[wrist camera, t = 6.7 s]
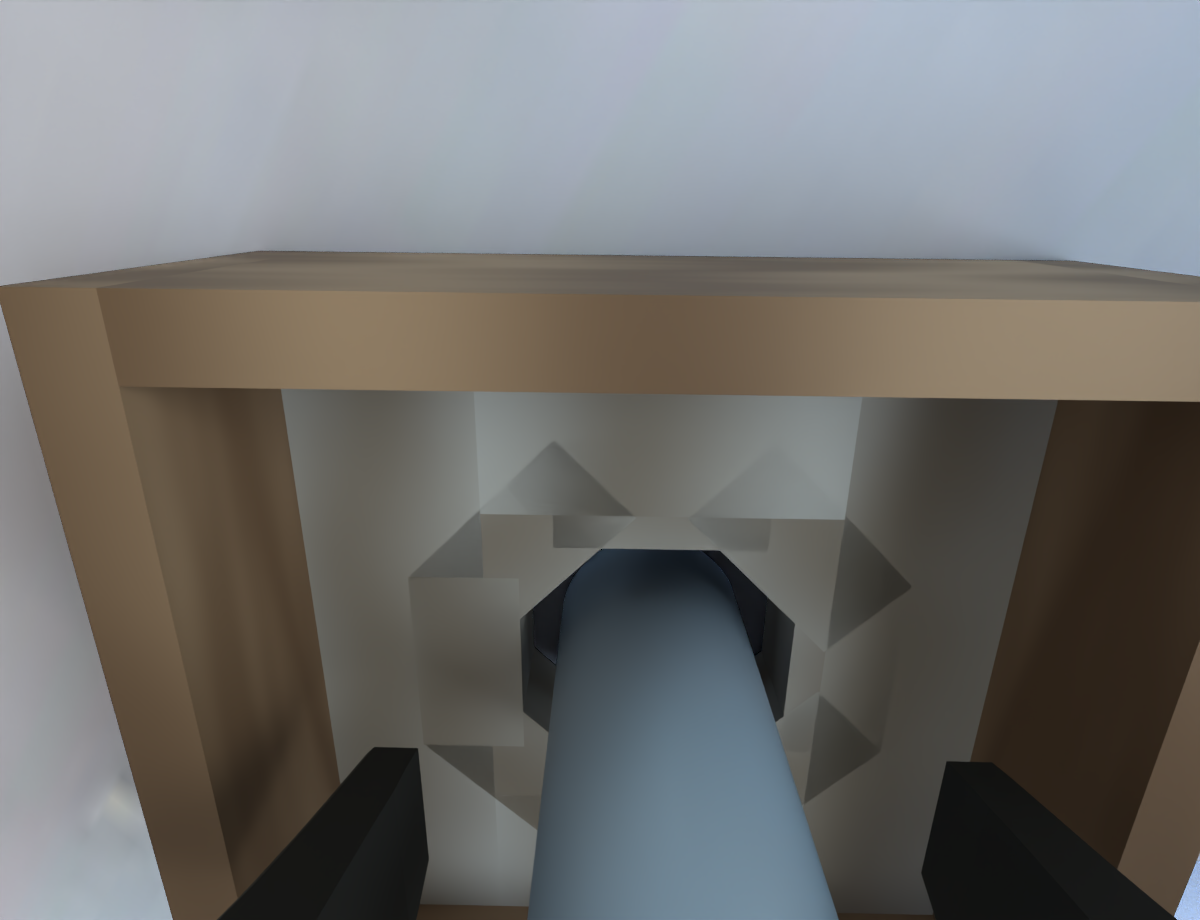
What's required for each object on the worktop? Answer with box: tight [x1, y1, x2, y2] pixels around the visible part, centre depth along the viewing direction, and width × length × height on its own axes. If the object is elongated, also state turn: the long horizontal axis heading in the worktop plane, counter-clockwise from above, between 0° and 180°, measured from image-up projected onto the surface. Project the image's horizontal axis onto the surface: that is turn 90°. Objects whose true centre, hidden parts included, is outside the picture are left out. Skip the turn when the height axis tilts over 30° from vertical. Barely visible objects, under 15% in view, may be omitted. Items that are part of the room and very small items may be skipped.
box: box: [0, 251, 1200, 920], centre depth 12 cm, size 14×14×6 cm
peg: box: [527, 549, 839, 920], centre depth 10 cm, size 4×4×9 cm
